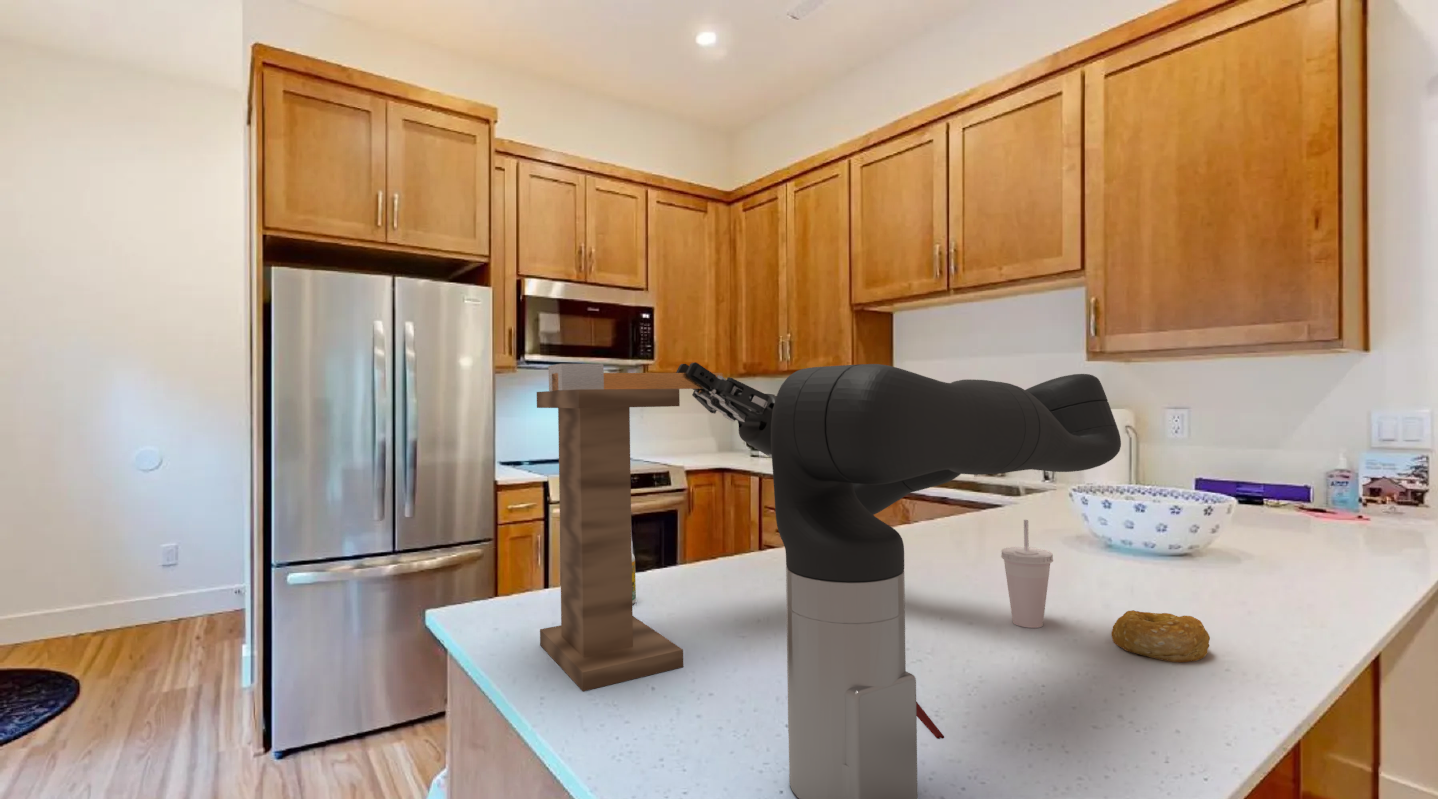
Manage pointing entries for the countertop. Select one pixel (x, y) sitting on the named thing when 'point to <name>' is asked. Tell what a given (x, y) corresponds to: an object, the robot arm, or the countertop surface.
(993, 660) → the countertop surface
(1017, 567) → the smoothie
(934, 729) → the chopstick
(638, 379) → the wooden handled hammer
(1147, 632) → the bagel
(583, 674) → the wooden pedestal
